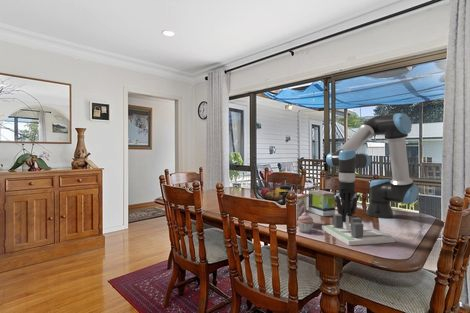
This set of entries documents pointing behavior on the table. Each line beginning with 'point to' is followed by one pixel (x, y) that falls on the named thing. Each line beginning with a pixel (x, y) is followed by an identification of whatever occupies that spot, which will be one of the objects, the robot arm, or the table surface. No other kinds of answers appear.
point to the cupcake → (305, 223)
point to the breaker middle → (355, 220)
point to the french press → (284, 187)
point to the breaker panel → (368, 237)
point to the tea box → (322, 202)
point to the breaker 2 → (357, 229)
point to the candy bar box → (301, 204)
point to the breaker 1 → (337, 220)
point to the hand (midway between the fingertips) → (346, 228)
